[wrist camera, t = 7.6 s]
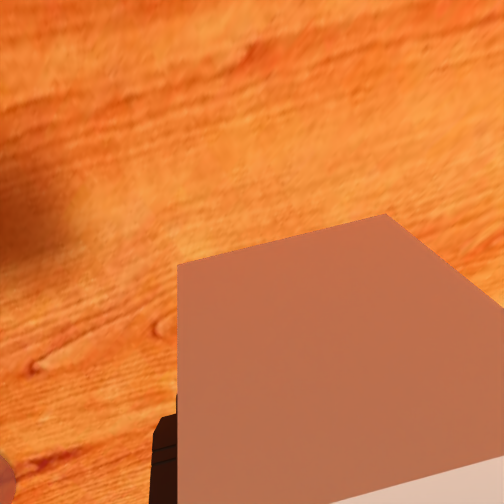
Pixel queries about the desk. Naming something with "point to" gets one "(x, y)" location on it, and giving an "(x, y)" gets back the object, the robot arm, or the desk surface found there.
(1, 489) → the robot arm
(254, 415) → the upright white pillar block
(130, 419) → the desk surface
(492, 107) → the desk surface
